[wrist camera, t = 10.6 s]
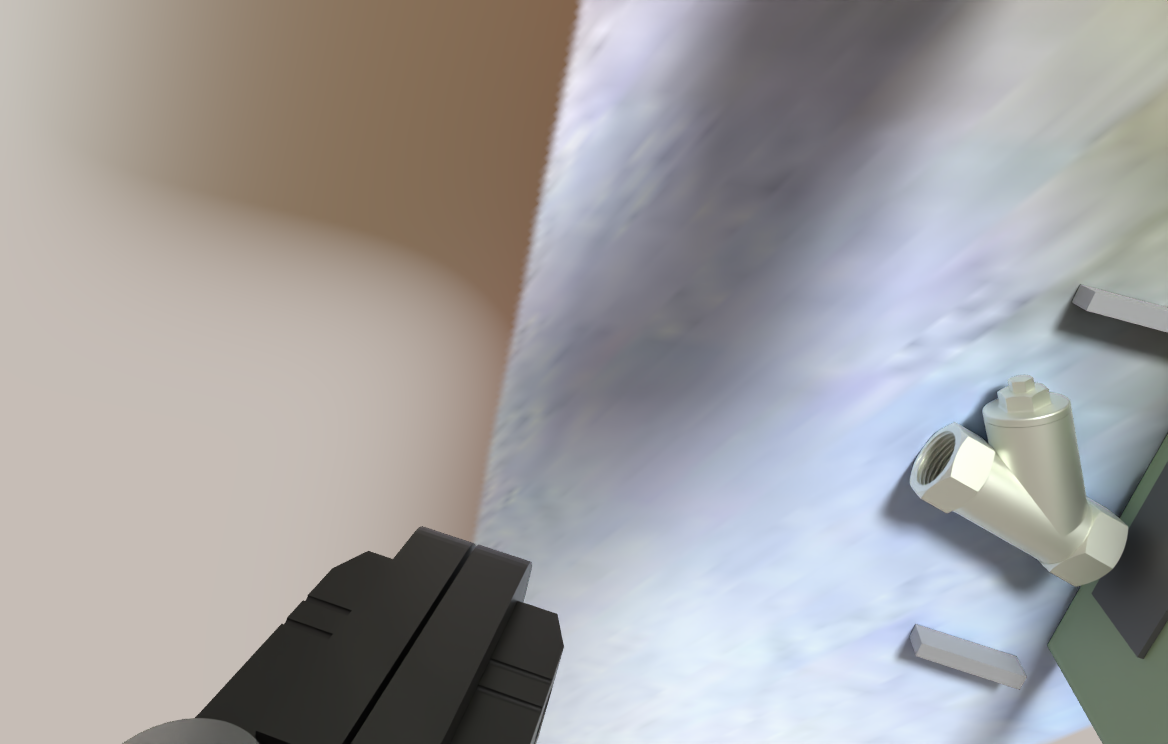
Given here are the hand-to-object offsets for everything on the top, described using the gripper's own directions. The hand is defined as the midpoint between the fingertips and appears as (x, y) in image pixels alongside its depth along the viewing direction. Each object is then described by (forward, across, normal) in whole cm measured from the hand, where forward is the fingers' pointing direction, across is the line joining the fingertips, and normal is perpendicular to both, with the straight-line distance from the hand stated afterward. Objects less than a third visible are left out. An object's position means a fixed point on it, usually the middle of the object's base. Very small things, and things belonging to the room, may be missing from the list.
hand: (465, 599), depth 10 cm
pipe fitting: (+28, -18, +5) cm, 33 cm away
